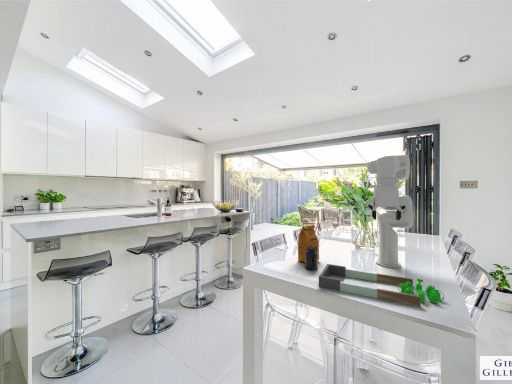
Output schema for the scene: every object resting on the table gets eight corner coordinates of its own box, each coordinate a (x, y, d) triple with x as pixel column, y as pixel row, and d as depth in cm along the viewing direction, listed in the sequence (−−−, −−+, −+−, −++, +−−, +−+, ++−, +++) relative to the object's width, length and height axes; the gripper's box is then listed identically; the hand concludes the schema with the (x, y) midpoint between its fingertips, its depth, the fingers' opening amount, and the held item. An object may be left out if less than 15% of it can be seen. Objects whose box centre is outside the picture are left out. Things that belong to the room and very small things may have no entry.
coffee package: (321, 261, 137) (321, 225, 137) (307, 265, 129) (307, 227, 130) (309, 257, 145) (309, 223, 145) (295, 260, 138) (295, 225, 138)
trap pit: (327, 272, 117) (327, 263, 117) (345, 275, 113) (345, 266, 113) (318, 286, 99) (318, 276, 99) (339, 290, 95) (339, 280, 95)
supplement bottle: (315, 266, 127) (315, 245, 127) (319, 270, 120) (319, 248, 120) (303, 266, 127) (303, 245, 127) (306, 270, 120) (306, 248, 120)
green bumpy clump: (440, 294, 93) (440, 277, 93) (447, 310, 80) (447, 291, 80) (398, 286, 101) (398, 271, 101) (398, 299, 88) (398, 282, 88)
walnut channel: (377, 280, 106) (377, 273, 106) (412, 286, 100) (412, 278, 100) (377, 298, 88) (377, 289, 89) (420, 306, 82) (420, 297, 82)
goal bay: (345, 275, 113) (345, 268, 113) (377, 280, 106) (377, 273, 106) (339, 290, 95) (339, 282, 95) (377, 298, 88) (377, 289, 89)
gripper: (404, 183, 105) (404, 219, 104) (364, 183, 109) (364, 218, 109) (410, 182, 97) (410, 221, 97) (367, 182, 102) (367, 219, 101)
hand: (386, 219), depth 103 cm, fingers open, 9 cm apart
